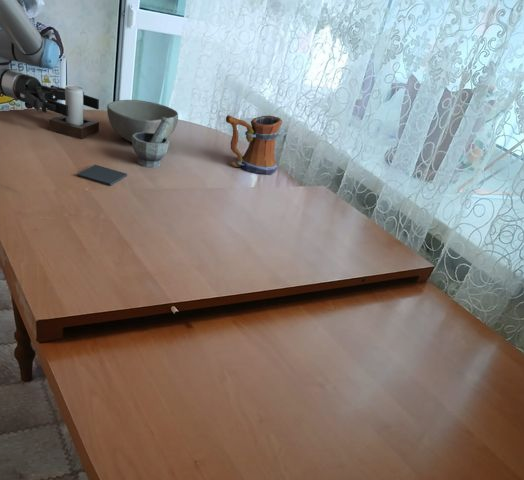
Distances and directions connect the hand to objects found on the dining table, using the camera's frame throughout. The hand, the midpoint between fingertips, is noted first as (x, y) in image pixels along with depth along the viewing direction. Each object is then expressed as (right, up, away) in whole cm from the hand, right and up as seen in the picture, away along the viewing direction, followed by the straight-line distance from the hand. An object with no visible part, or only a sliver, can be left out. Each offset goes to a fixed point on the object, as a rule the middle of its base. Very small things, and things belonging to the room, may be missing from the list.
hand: (83, 107), depth 155 cm
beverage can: (-4, -5, +5) cm, 8 cm away
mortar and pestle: (+20, -18, -4) cm, 27 cm away
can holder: (-4, -5, +5) cm, 8 cm away
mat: (+11, -25, -18) cm, 33 cm away
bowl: (+15, -7, +8) cm, 18 cm away
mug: (+47, -15, +8) cm, 50 cm away
